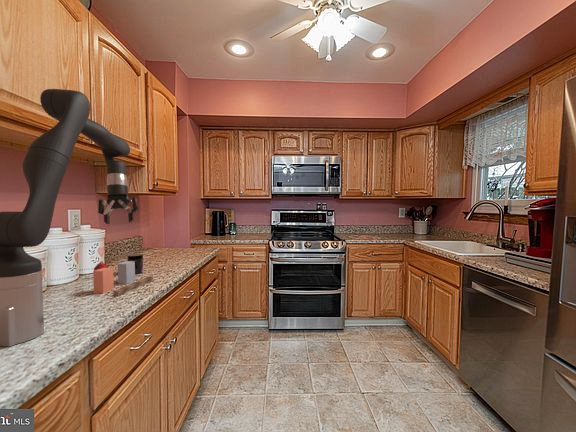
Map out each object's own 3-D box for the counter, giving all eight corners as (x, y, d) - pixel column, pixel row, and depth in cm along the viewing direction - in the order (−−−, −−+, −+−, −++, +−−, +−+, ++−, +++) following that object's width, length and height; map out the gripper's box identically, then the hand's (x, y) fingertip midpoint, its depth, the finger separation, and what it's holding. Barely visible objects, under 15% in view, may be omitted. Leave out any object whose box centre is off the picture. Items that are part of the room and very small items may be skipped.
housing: (118, 299, 97) (118, 291, 97) (85, 297, 99) (85, 289, 99) (152, 283, 117) (152, 276, 117) (125, 282, 119) (125, 275, 118)
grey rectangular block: (126, 284, 111) (126, 264, 111) (118, 283, 112) (117, 263, 111) (135, 280, 116) (134, 261, 116) (126, 280, 117) (126, 261, 116)
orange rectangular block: (103, 293, 99) (102, 271, 99) (93, 293, 100) (93, 270, 100) (113, 289, 104) (113, 268, 104) (104, 288, 105) (104, 267, 104)
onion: (101, 280, 121) (100, 262, 121) (90, 279, 122) (90, 262, 122) (111, 276, 127) (111, 260, 126) (101, 276, 128) (101, 259, 128)
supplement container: (142, 277, 127) (142, 255, 126) (126, 278, 124) (125, 256, 124) (144, 273, 133) (144, 253, 133) (128, 274, 131) (128, 253, 130)
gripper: (94, 184, 108) (95, 223, 106) (133, 182, 112) (135, 220, 110) (102, 188, 115) (103, 225, 113) (138, 186, 119) (140, 222, 117)
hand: (119, 223), depth 112 cm, fingers open, 8 cm apart
